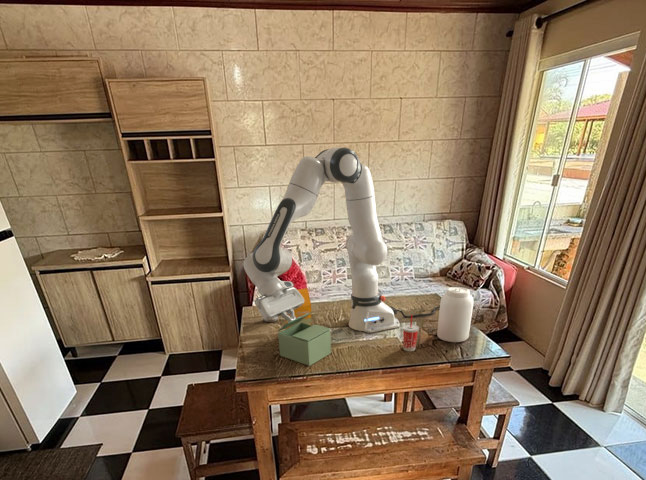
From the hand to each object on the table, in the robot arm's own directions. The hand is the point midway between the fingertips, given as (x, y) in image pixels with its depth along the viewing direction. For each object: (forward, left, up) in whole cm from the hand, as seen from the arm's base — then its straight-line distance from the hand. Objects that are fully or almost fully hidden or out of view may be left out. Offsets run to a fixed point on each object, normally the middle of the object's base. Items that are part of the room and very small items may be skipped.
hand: (293, 321), depth 154 cm
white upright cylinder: (-64, +4, -13) cm, 66 cm away
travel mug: (+7, -36, -13) cm, 39 cm away
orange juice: (-3, -15, -12) cm, 20 cm away
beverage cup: (-43, +10, -13) cm, 46 cm away
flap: (-1, 0, 0) cm, 1 cm away
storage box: (-3, +4, -12) cm, 14 cm away
